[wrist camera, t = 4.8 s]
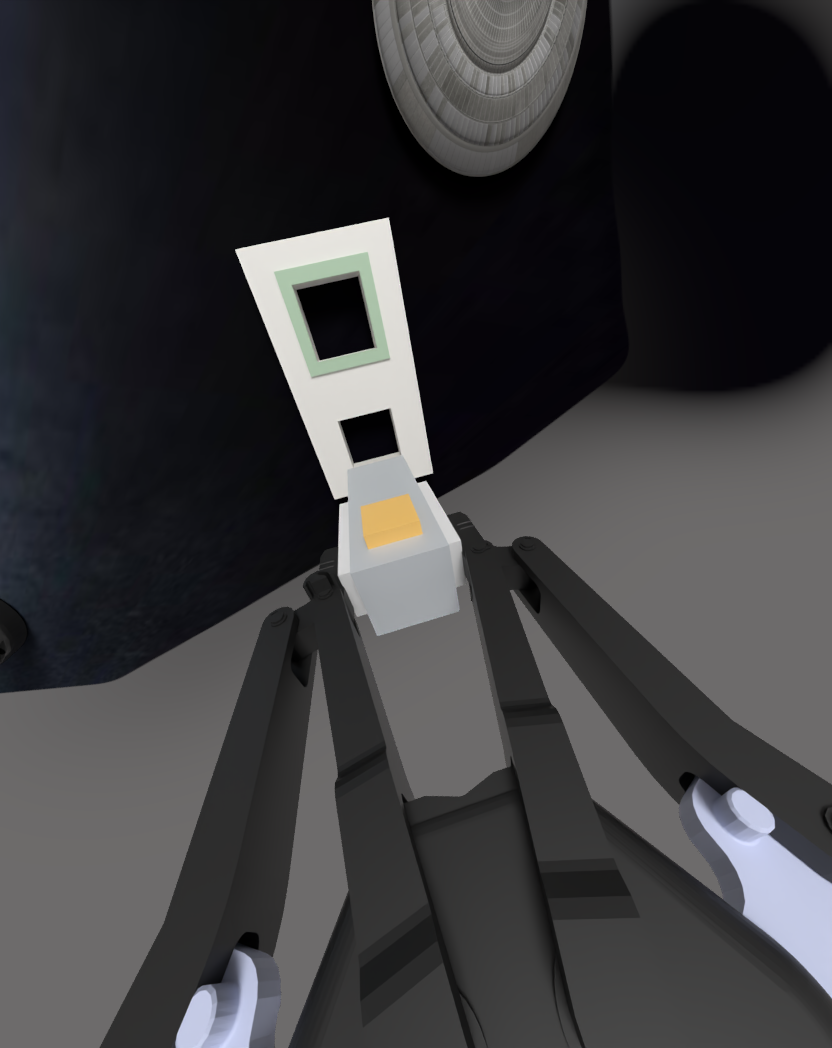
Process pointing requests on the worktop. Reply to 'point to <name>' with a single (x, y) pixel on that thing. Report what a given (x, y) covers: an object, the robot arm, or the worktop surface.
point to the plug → (397, 548)
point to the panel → (352, 377)
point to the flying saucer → (478, 74)
